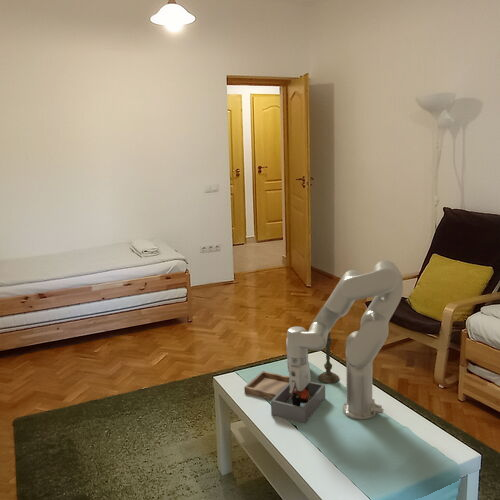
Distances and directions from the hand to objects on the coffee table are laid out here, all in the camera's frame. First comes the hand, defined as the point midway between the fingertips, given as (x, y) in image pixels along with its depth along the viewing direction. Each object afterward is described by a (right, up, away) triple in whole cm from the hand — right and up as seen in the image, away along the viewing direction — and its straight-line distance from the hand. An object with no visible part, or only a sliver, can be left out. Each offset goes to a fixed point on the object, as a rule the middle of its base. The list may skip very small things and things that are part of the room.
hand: (300, 400), depth 188 cm
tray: (-11, 0, +16) cm, 19 cm away
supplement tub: (+2, +4, +32) cm, 32 cm away
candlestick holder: (+14, +3, +22) cm, 26 cm away
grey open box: (0, -3, +1) cm, 3 cm away
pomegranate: (0, -2, 0) cm, 2 cm away
